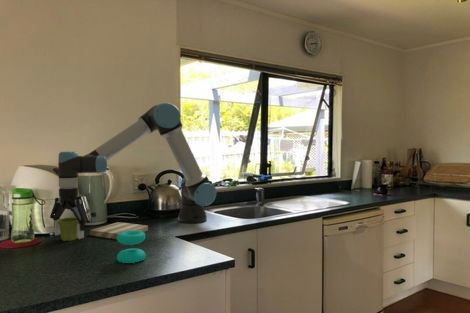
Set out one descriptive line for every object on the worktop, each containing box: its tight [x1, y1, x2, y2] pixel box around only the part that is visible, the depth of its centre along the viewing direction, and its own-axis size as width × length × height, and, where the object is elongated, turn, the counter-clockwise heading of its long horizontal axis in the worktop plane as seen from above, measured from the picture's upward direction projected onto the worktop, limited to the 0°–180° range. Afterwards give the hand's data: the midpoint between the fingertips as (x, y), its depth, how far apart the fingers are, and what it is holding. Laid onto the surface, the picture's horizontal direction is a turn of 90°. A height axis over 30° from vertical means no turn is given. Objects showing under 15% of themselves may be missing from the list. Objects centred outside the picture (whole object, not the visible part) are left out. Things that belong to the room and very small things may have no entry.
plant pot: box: [57, 216, 79, 242], centre depth 164 cm, size 9×9×9 cm
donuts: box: [116, 230, 147, 264], centre depth 136 cm, size 10×10×10 cm
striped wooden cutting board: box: [89, 221, 149, 240], centre depth 176 cm, size 18×18×3 cm
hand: (69, 236), depth 164 cm, fingers open, 13 cm apart
